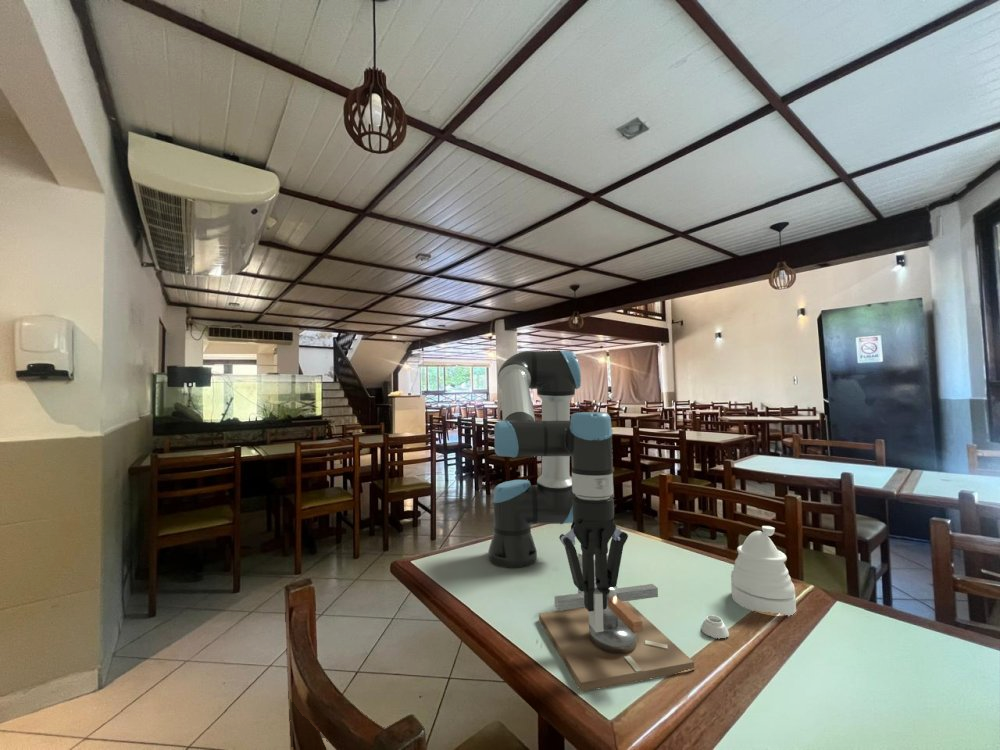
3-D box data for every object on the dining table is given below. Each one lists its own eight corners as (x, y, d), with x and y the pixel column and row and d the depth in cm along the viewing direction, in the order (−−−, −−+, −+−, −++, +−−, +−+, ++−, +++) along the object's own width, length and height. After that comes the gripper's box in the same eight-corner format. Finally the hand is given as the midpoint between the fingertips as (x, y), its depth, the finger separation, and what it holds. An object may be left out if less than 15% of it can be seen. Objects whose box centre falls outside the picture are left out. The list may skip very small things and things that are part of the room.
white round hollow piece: (712, 624, 84) (696, 630, 82) (712, 610, 85) (695, 615, 83) (734, 637, 80) (717, 643, 78) (733, 622, 80) (716, 628, 78)
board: (539, 620, 86) (539, 612, 86) (628, 607, 91) (627, 600, 91) (581, 692, 65) (580, 681, 65) (694, 670, 70) (693, 660, 70)
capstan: (539, 611, 86) (538, 569, 87) (627, 599, 91) (626, 559, 92) (580, 680, 65) (579, 623, 66) (693, 659, 70) (691, 607, 71)
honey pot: (799, 601, 93) (794, 525, 95) (792, 623, 84) (787, 538, 85) (738, 584, 102) (734, 515, 103) (725, 603, 93) (722, 526, 94)
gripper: (567, 502, 67) (570, 645, 65) (635, 497, 70) (640, 634, 68) (552, 493, 74) (555, 621, 73) (614, 489, 77) (618, 612, 75)
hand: (596, 627), depth 70 cm, fingers closed
